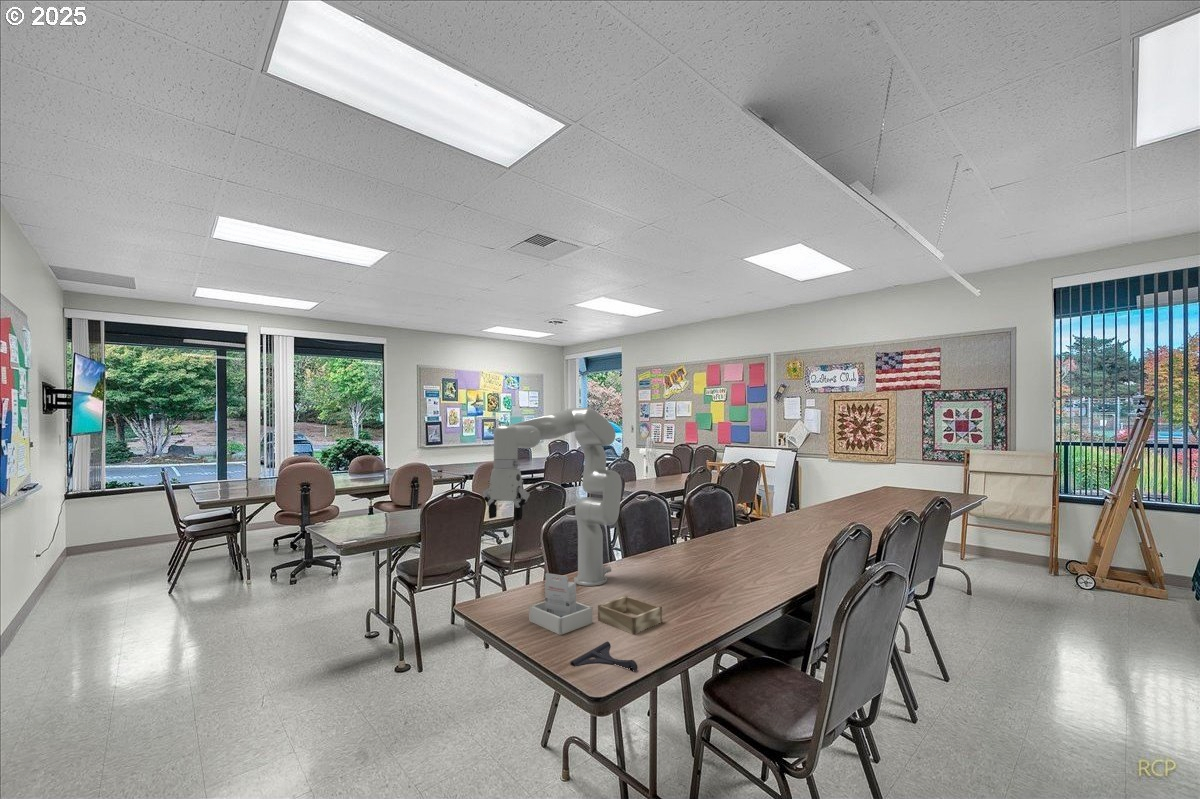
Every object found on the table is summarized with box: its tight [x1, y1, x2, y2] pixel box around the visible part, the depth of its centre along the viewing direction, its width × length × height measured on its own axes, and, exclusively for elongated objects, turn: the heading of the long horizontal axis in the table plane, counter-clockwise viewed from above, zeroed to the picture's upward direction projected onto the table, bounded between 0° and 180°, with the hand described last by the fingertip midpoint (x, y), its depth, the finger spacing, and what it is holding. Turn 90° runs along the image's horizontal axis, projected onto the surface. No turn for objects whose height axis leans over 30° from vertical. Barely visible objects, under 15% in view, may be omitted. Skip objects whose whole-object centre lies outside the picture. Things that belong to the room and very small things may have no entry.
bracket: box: [569, 641, 638, 672], centre depth 127 cm, size 14×15×3 cm
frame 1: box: [528, 600, 594, 636], centre depth 153 cm, size 13×15×4 cm
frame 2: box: [597, 595, 663, 635], centre depth 153 cm, size 13×15×4 cm
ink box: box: [544, 572, 577, 617], centre depth 153 cm, size 9×5×15 cm, turn 62°
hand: (505, 518), depth 161 cm, fingers open, 9 cm apart
